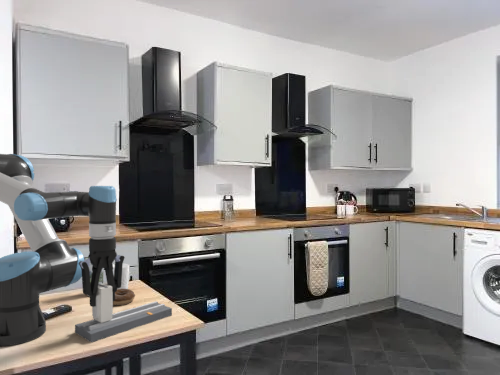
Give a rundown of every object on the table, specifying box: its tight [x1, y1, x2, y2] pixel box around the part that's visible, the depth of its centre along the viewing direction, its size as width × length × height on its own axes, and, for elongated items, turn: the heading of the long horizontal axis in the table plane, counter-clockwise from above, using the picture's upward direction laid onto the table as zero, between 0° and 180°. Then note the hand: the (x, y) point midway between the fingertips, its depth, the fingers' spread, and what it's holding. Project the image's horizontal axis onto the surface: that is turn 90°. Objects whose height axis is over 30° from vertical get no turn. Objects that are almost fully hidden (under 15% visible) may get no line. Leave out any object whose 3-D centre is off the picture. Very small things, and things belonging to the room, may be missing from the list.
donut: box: [113, 288, 136, 306], centre depth 139 cm, size 11×11×4 cm
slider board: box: [74, 300, 173, 343], centre depth 117 cm, size 10×28×3 cm, turn 140°
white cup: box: [112, 262, 131, 289], centre depth 154 cm, size 8×8×10 cm
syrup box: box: [84, 257, 105, 297], centre depth 147 cm, size 6×6×14 cm
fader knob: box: [92, 282, 113, 324], centre depth 111 cm, size 5×4×11 cm
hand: (102, 314), depth 111 cm, fingers closed on fader knob, 3 cm apart
